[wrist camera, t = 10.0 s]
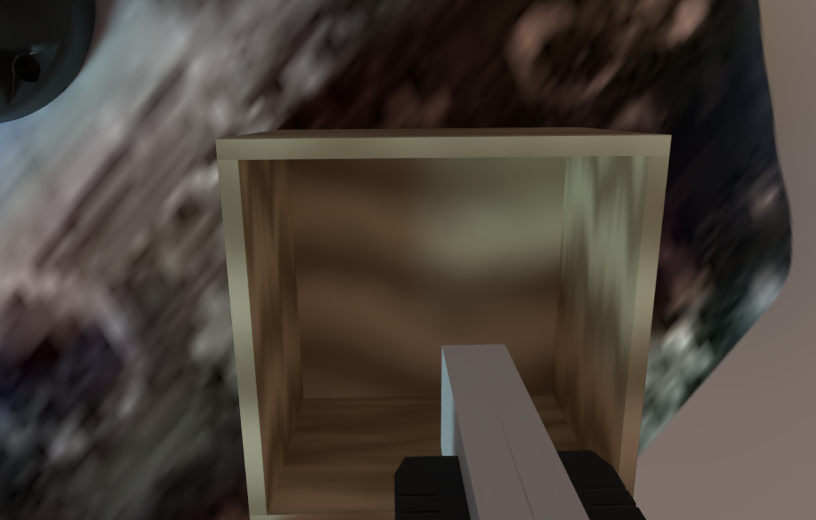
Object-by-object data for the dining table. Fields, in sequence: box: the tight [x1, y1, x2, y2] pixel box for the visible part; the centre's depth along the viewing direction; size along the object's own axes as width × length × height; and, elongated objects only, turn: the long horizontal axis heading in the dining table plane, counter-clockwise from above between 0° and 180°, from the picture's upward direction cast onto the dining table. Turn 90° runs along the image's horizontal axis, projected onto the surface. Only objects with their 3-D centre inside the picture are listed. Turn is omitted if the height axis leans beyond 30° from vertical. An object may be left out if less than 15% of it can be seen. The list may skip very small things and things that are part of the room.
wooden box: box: [215, 127, 671, 520], centre depth 31 cm, size 18×18×12 cm
